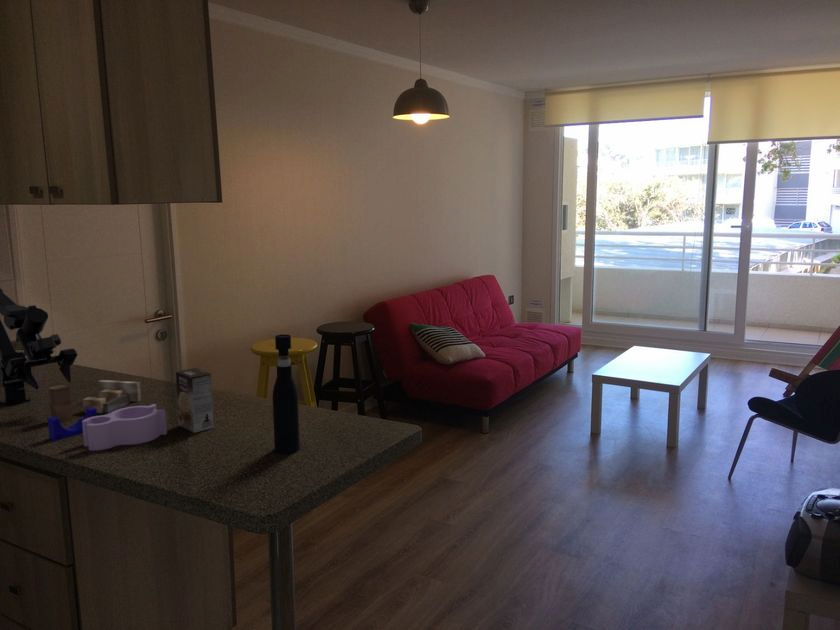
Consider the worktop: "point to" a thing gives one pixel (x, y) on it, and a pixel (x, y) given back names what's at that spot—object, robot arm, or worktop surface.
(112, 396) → the stepped pillar cluster
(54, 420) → the cable clip
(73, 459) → the worktop surface
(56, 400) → the plain brown block
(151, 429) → the purple double cup holder
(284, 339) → the dark blue water bottle
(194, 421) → the coffee box
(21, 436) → the worktop surface
